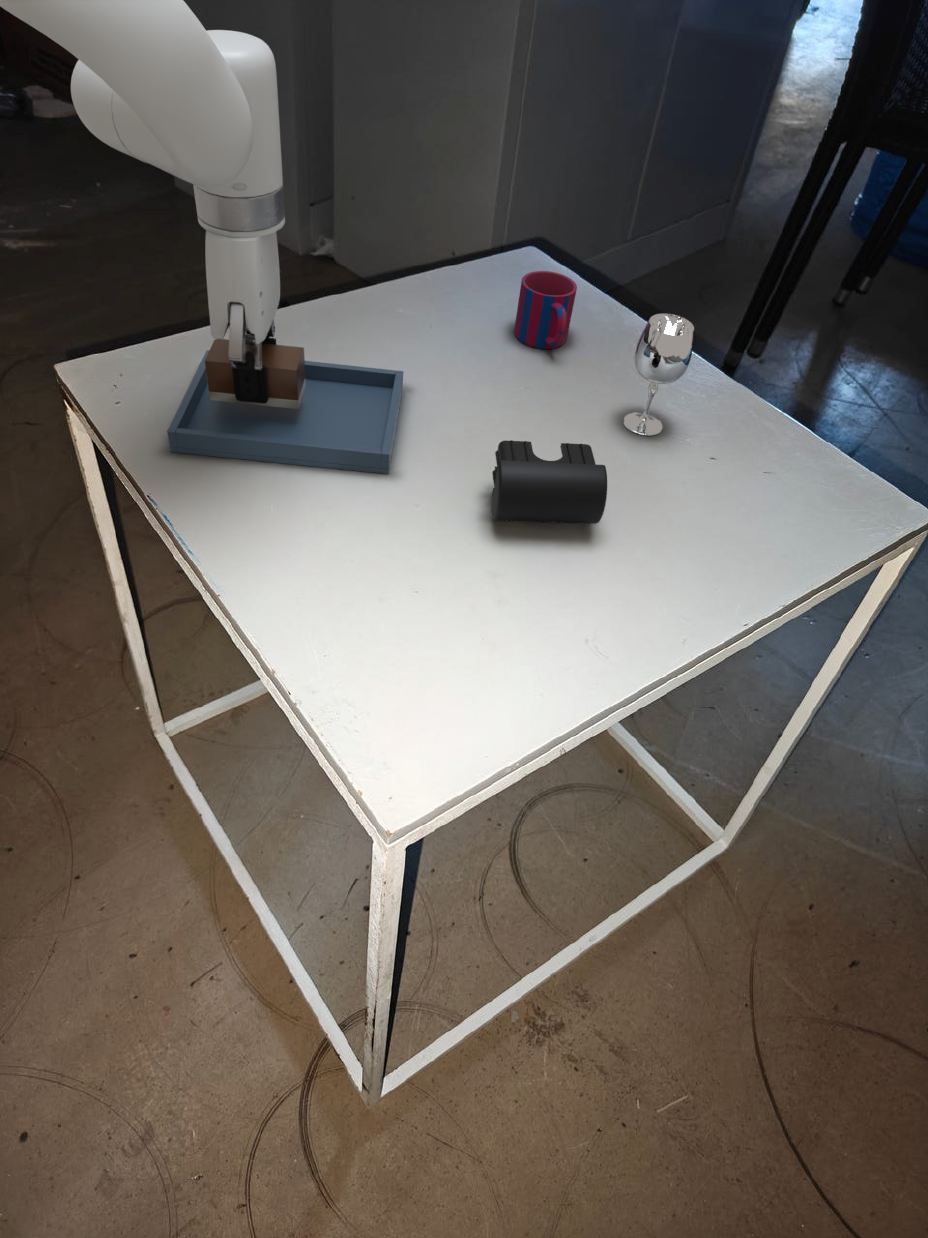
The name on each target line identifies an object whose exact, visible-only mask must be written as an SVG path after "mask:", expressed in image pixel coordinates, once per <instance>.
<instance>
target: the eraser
mask: <svg viewBox="0 0 928 1238" xmlns="http://www.w3.org/2000/svg"><path fill="white" fill-rule="evenodd" d="M245 349H246V350H247V351H251V352H252V354H253V355H254V345H251V344H245ZM228 352H229V339H227V338H226V339H225V338H223V340H221V339H220V340H215V339H214V340H213V341H212V344H211V346H210V348H209V352H208V354H207V357H206V359H205V368H206V375H207V382H208V389H209V396H210V400H213V401H223V402H233V403H243V404H253V405H263V406H273V407H282V408H292V409H299V407H300V403H301V400H302V397H303V394H304V390H305V387H306V379H305V361H306V359H305V347H302V346H292V345H283V344H276V345H274V344H265V343H262V365H264V366H266V374H267V386H268V401H267V403H254V402H244V401H238V400H237V399H236V398H235V389H234V381H233V372H232V366H231V361H229V358H228Z"/></svg>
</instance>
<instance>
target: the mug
mask: <svg viewBox="0 0 928 1238" xmlns="http://www.w3.org/2000/svg"><path fill="white" fill-rule="evenodd" d="M577 290H578V286H577V283H576V282H575V281H574V280H573V279H572V278H570V277H569V276H567V275H564V274H562V273H559V272H555V271H550V270H535V271H531V272H527V273H526V274H525V275H523V276H522V278H521V282H520V289H519V296H518V302H517V307H516V316H515V322H514V329H513V333H514V336H515V338H516V339H517V340H518V341H519V342H521V343H522V344H523V345H526V346H529V347H532V348H535V349H541V350H549V349H550V350H551V349H552V350H553V349H556V348H560V347H561V346H563V345H564V344H565V343H566V342H567V340H568V335H569V330H570V324H571V321H572V320H571V319H572V314H573V310H574V306H575V299H576V295H577Z"/></svg>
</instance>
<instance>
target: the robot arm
mask: <svg viewBox="0 0 928 1238" xmlns="http://www.w3.org/2000/svg"><path fill="white" fill-rule="evenodd" d="M0 8H2V9H3V10H5V11H6V12H7V13H10V14H11V15H13V16H14V17H16V18H17V19H19V20H20V21H22V22H24V23H25V24H27V25H28V26H30V27H32V28H34V29H35V30H37V32H40V33H41V34H43V35H44V36H46V37H47V38H49V39H51V40H52V41H53V42H55V43H56V44H58V45H59V46H61V47H62V48H63V49H64V50H66V51H67V52H69V53H70V54H71V55H73V56H74V57H75V58H76V59H77V61H76V64H75V66H74V68H73V70H72V74H71V80H70V94H71V95H70V96H71V100H72V104H73V107H74V109H75V112H76V114H77V116H78V118H79V119H80V121H81V123H82V124H83V125H84V127H86V129H87V130H88V131H89V132H90V133H91V134H92V135H93V136H94V137H96V138H97V139H98V140H100V141H101V142H102V143H104V144H105V145H107V146H109V147H110V148H112V149H114V150H116V151H118V152H121V153H123V154H126V155H127V156H130V157H132V158H134V159H136V160H139V161H140V162H142V163H145V164H149V165H151V166H154V167H155V168H157V169H160V170H162V171H164V172H166V173H167V174H170V175H171V176H174V177H177V178H178V179H180V180H183V181H185V182H187V183H189V184H192V185H193V193H194V200H195V209H196V214H197V215H196V216H197V222H198V224H199V225H200V227H201V228H203V229H204V230H205V243H204V244H205V248H204V249H205V252H204V253H205V256H204V257H205V278H206V290H207V291H206V292H207V303H208V314H209V326H210V334H211V337H212V338H213V339H214V340H220V339H221V340H223V339H225V336H226V334H227V332H228V329H229V332H228V340H229V352H228V358H229V361H231V366H232V372H233V381H234V389H235V398H236V399H237V400H238V401H244V402H254V403H267V401H268V386H267V374H266V366H264V365H262V343H265V344H274V345H277V338H275V335H276V325H275V319H274V318H275V316H276V313H277V311H278V307H279V305H280V299H281V271H280V259H279V258H280V256H279V247H278V236H277V232H278V231H280V230H281V229H282V228H283V227H284V226H285V223H286V215H285V213H286V211H285V195H284V177H283V163H282V162H283V161H282V160H283V159H282V144H281V143H282V142H281V126H280V125H281V124H280V111H279V95H278V93H279V92H278V76H277V75H278V74H277V68H276V67H277V66H276V60H275V55H274V53H273V51H272V49H271V48H270V45H268V44H267V43H266V42H265V41H264V40H263V39H261V38H259V37H257V36H254V35H252V34H249V33H247V32H242V31H237V30H226V29H208V30H206V28H205V27H204V26H203V23H202V22H201V21H200V20H199V18H198V17H197V16H196V14H195V13H194V12H193V11H192V9H191V8H190V6H188V4H187V3H186V2H185V1H184V0H0ZM245 344H251V345H254V355H253V354H252V352H251V351H247V350H246V349H245Z"/></svg>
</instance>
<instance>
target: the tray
mask: <svg viewBox="0 0 928 1238" xmlns="http://www.w3.org/2000/svg"><path fill="white" fill-rule="evenodd" d="M209 350H210V349H209ZM209 350H208V349H207V350H205V353H204V355H203V357H202V359H201V361H200V362H199V365H198V367H197V369H196V371H195V373H194V375H193V378H192V380H191V381H190V383H189V386H188V387H187V390H186V391H185V394H184V396H183V398H182V400H181V401H180V404H179V405H178V408H177V410H176V412H175V414H174V417H173V418H172V420H171V422H170V425H169V426H168V429H167V431H166V433H167V438H168V444H169V451H170V452H171V453H178V454H187V455H188V454H189V455H198V456H208V457H218V458H227V459H228V458H229V459H236V460H237V459H238V460H247V461H248V460H249V461H258V462H267V463H277V464H287V465H295V466H305V467H316V468H325V469H326V468H327V469H335V470H336V469H337V470H344V471H345V470H346V471H355V472H364V473H375V474H384V475H385V474H386V475H389V474H390V468H391V461H392V455H393V450H394V443H395V437H396V432H397V427H398V426H397V425H398V420H399V414H400V407H401V401H402V396H403V388H404V370H395V369H387V368H386V369H385V368H376V367H369V366H368V367H367V366H358V365H350V364H349V365H348V364H339V363H329V362H321V361H310V360H305V379H306V387H305V390H304V394H303V397H302V400H301V403H300V407H299V409H292V408H282V407H273V406H263V405H253V404H243V403H233V402H223V401H213V400H210V396H209V389H208V382H207V375H206V368H205V359H206V357H207V354H208V352H209Z"/></svg>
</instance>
